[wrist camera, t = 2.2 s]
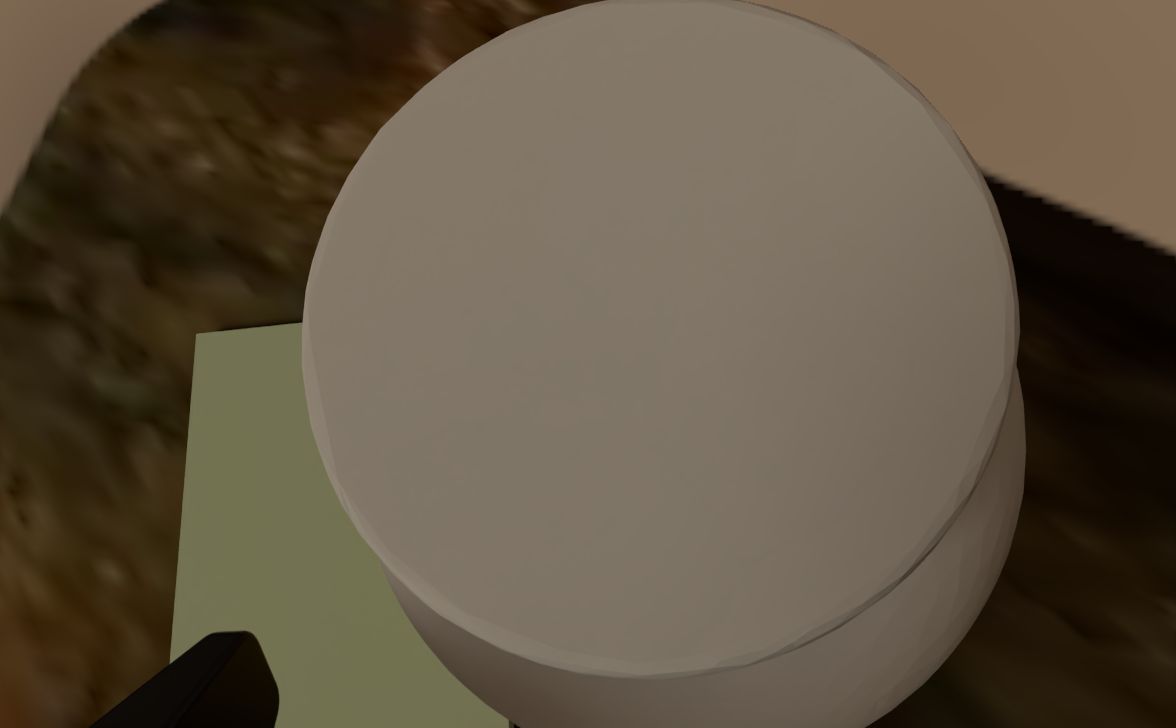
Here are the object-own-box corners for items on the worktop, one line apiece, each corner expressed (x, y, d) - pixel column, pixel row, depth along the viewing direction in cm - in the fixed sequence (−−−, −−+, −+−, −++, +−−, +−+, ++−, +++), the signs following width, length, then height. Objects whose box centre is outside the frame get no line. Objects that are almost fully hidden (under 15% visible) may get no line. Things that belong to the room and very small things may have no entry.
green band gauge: (1030, 1006, 15) (1053, 1036, 14) (130, 1000, 17) (87, 1025, 16) (908, 265, 19) (919, 240, 18) (186, 341, 21) (154, 324, 20)
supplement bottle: (522, 684, 18) (32, 779, 6) (561, 355, 20) (253, -111, 7) (883, 729, 17) (1257, 974, 4) (889, 373, 18) (1168, -154, 6)
